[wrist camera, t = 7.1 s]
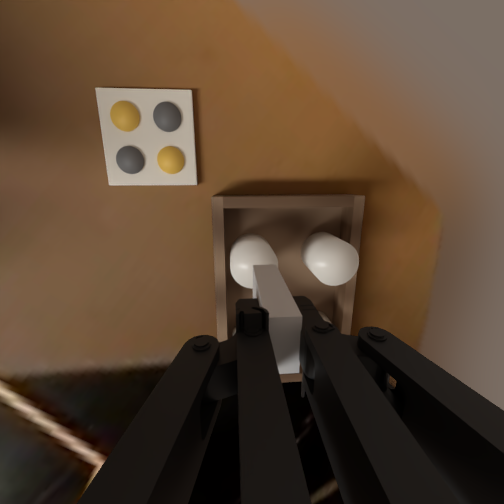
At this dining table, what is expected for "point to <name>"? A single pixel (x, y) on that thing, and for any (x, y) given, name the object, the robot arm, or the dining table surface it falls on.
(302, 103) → the dining table surface
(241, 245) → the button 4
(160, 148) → the pattern card
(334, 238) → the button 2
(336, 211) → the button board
